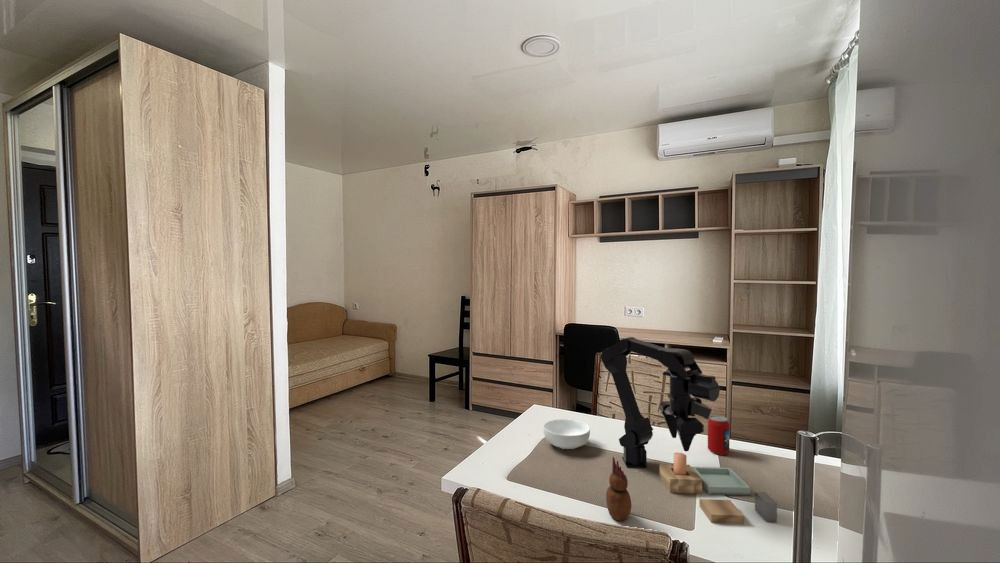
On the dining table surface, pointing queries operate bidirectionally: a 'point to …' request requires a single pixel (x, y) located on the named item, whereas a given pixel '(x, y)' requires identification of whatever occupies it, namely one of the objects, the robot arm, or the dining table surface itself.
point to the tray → (722, 481)
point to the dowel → (679, 464)
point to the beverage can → (718, 435)
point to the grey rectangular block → (766, 506)
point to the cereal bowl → (566, 433)
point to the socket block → (680, 480)
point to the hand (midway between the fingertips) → (679, 444)
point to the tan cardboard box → (721, 511)
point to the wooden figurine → (618, 494)
